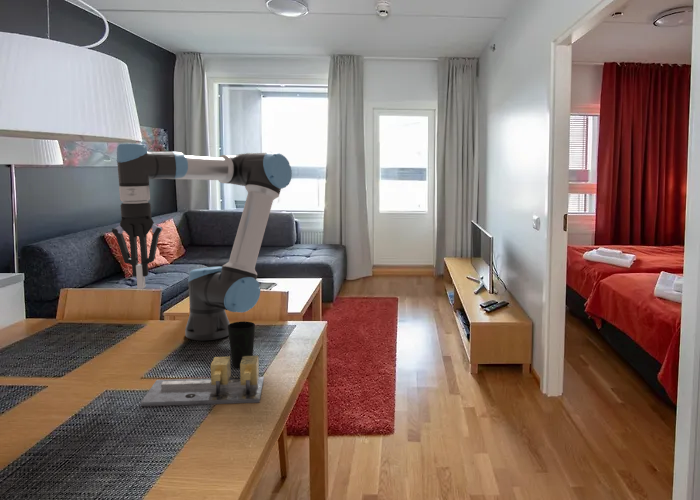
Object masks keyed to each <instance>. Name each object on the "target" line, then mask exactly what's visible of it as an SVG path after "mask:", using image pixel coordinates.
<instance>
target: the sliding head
mask: <svg viewBox="0 0 700 500" xmlns="http://www.w3.org/2000/svg"><path fill="white" fill-rule="evenodd" d="M231 376H232V369H231V355H229V356H227V355H226V356H214V357H213V359H212V361H211V363H210V378H211V385H216V394H220V385H228V382H229V379H230V378H231Z"/></svg>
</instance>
